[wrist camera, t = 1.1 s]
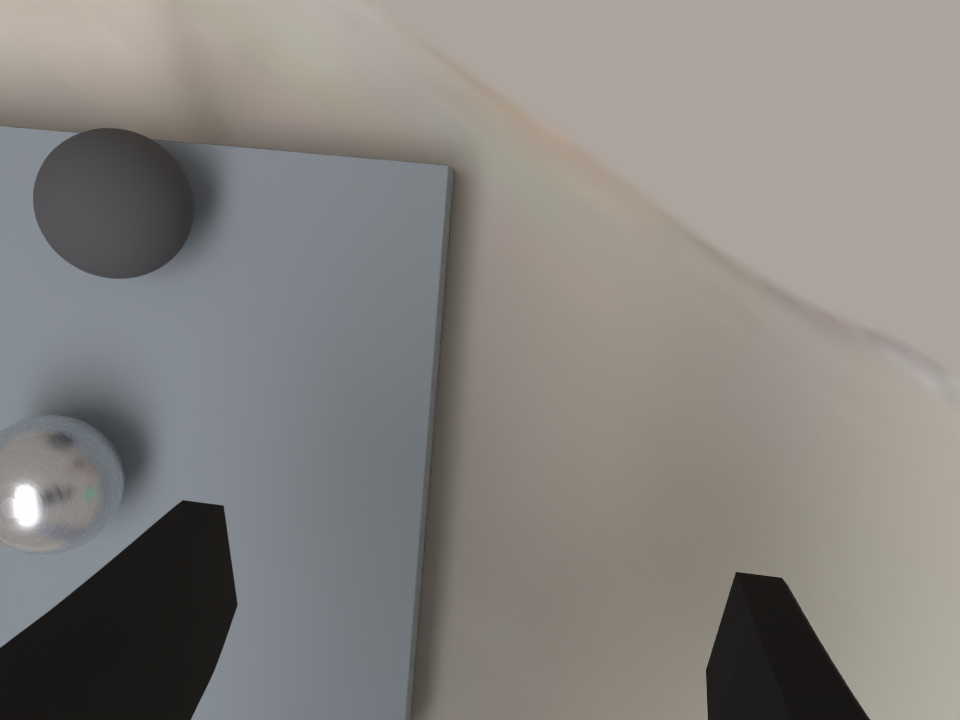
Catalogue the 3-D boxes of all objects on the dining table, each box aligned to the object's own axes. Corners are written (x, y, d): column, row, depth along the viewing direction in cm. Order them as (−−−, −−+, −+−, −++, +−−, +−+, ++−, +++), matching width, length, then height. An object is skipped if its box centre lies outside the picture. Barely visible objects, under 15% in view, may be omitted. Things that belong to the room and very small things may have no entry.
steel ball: (146, 529, 21) (84, 586, 18) (20, 518, 21) (-63, 572, 18) (147, 407, 21) (84, 442, 18) (18, 395, 21) (-68, 428, 18)
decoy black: (212, 278, 20) (159, 292, 17) (79, 266, 20) (1, 278, 17) (216, 140, 20) (162, 129, 17) (79, 128, 20) (-1, 114, 17)
